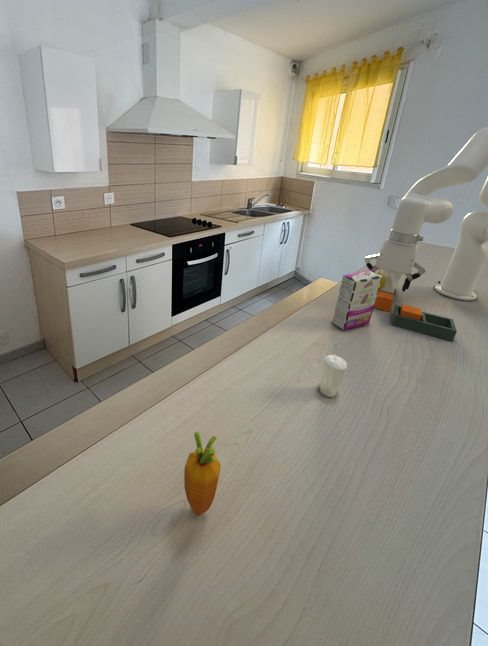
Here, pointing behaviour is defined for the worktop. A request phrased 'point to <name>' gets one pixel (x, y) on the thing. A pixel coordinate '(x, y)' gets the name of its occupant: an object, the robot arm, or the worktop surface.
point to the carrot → (201, 476)
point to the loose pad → (384, 301)
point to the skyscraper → (390, 280)
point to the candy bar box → (356, 299)
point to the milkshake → (332, 374)
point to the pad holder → (426, 324)
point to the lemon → (381, 281)
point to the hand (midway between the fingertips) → (386, 286)
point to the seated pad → (410, 312)
